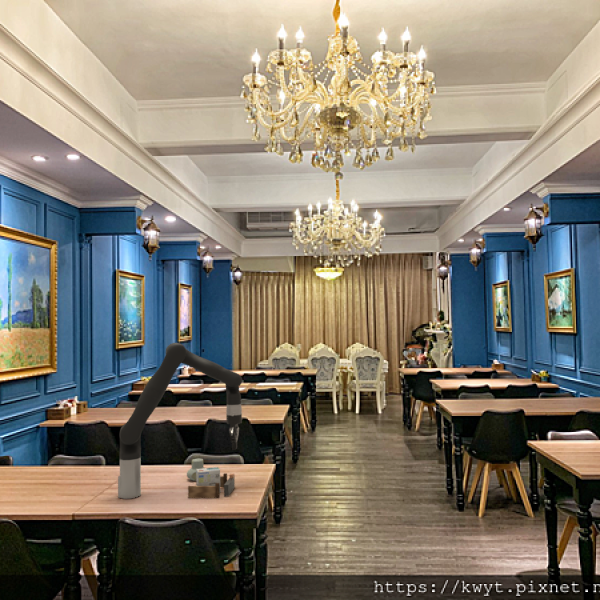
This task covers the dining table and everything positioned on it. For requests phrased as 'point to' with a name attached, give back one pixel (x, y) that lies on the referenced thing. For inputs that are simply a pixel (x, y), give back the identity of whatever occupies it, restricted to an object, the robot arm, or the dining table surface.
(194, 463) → the air freshener
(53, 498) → the dining table surface
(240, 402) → the robot arm
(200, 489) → the rails
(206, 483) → the light bulb box
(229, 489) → the bar
